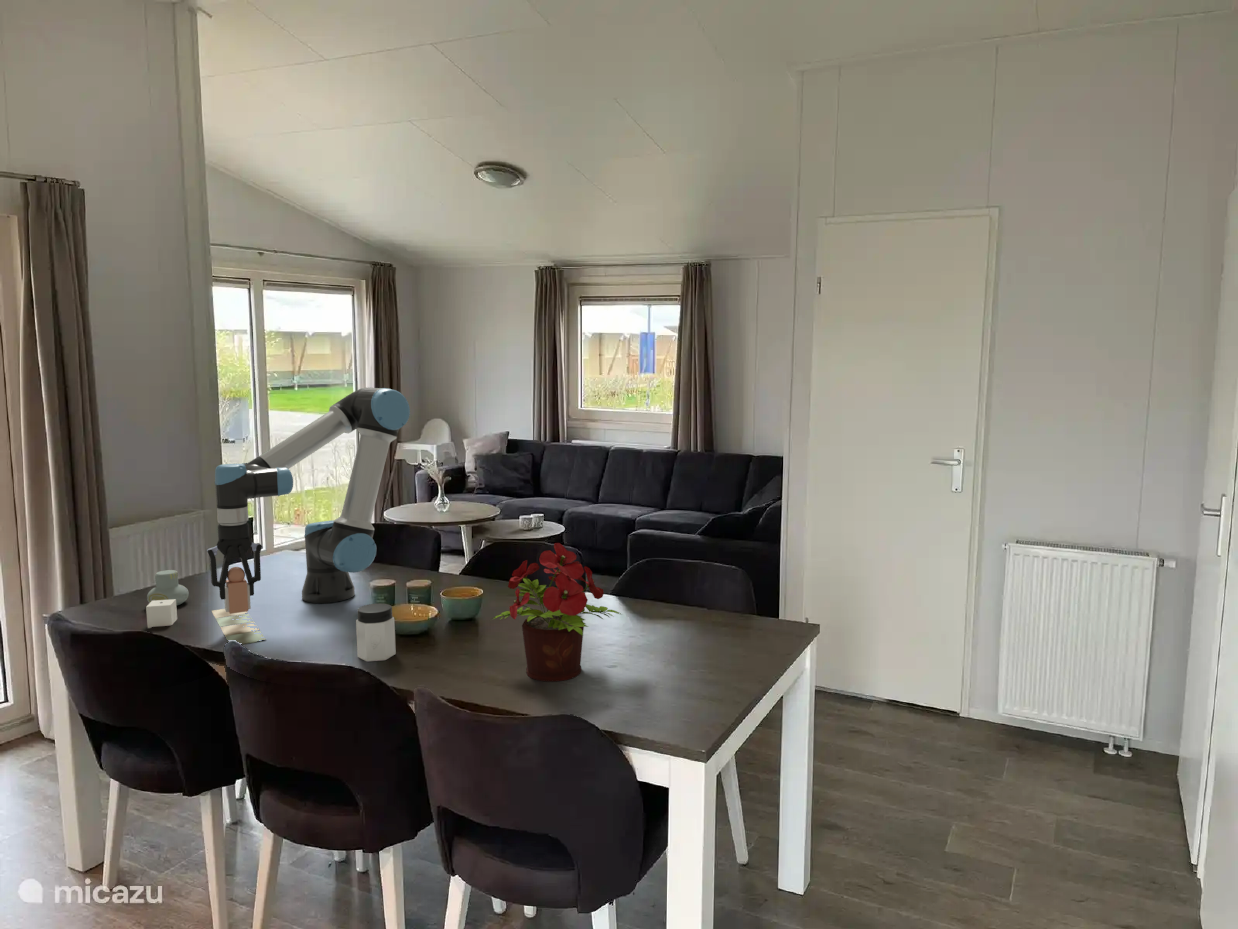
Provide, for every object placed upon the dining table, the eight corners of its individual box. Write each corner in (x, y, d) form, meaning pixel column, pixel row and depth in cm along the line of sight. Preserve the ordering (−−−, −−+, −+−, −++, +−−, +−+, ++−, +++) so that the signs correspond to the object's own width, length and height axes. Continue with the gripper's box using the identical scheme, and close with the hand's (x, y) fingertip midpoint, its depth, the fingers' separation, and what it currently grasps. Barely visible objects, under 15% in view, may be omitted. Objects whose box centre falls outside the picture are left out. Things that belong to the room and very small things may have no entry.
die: (177, 620, 247) (175, 598, 246) (171, 626, 241) (170, 604, 240) (153, 621, 245) (151, 600, 245) (146, 628, 240) (145, 606, 239)
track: (243, 607, 259) (243, 606, 259) (266, 640, 229) (266, 639, 229) (211, 611, 254) (211, 610, 254) (230, 646, 224) (230, 645, 224)
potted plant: (518, 699, 189) (515, 561, 185) (484, 659, 214) (481, 536, 210) (644, 678, 201) (643, 548, 197) (598, 642, 225) (597, 526, 221)
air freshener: (194, 602, 264) (192, 569, 263) (176, 610, 256) (173, 576, 255) (161, 600, 266) (159, 568, 264) (142, 608, 258) (139, 575, 256)
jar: (356, 663, 212) (354, 614, 210) (358, 652, 220) (356, 604, 218) (395, 660, 214) (393, 611, 212) (396, 649, 222) (394, 602, 220)
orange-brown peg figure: (245, 607, 240) (243, 564, 238) (248, 611, 236) (246, 567, 235) (227, 609, 237) (225, 566, 236) (230, 613, 234) (227, 569, 232)
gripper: (265, 517, 242) (270, 601, 244) (194, 523, 232) (199, 610, 235) (271, 521, 235) (275, 607, 238) (198, 528, 226) (203, 617, 229)
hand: (237, 609), depth 237 cm, fingers closed on orange-brown peg figure, 4 cm apart
